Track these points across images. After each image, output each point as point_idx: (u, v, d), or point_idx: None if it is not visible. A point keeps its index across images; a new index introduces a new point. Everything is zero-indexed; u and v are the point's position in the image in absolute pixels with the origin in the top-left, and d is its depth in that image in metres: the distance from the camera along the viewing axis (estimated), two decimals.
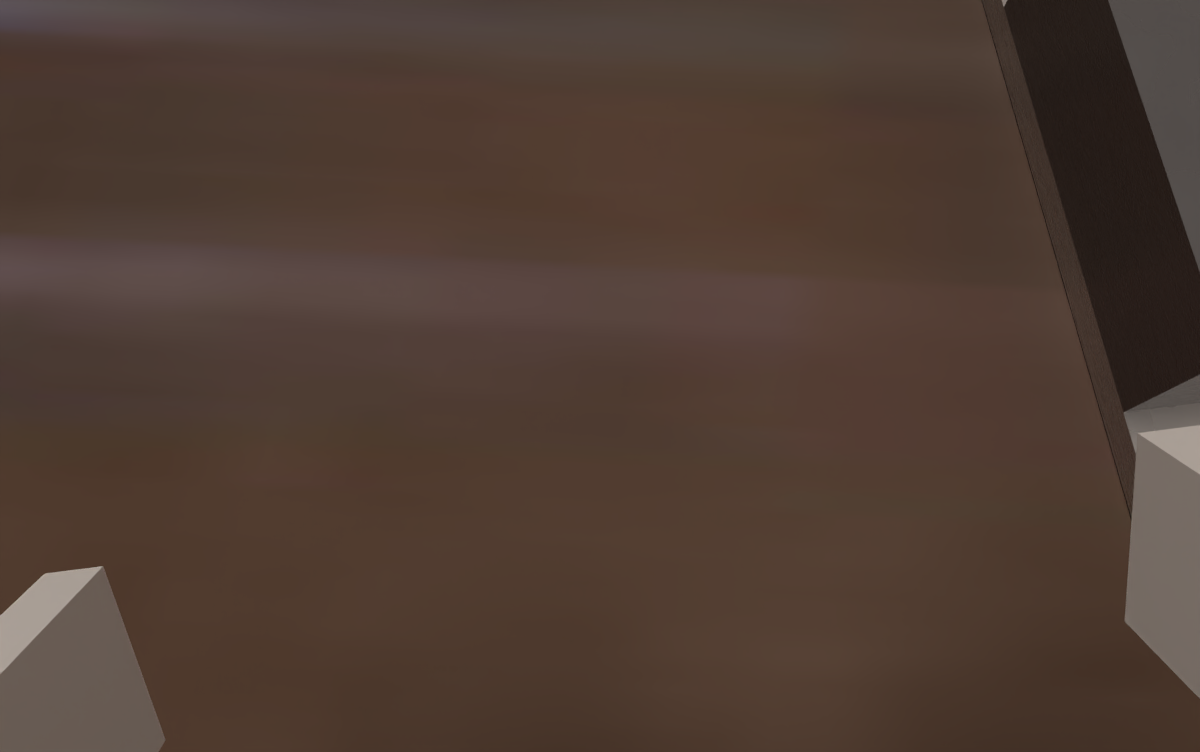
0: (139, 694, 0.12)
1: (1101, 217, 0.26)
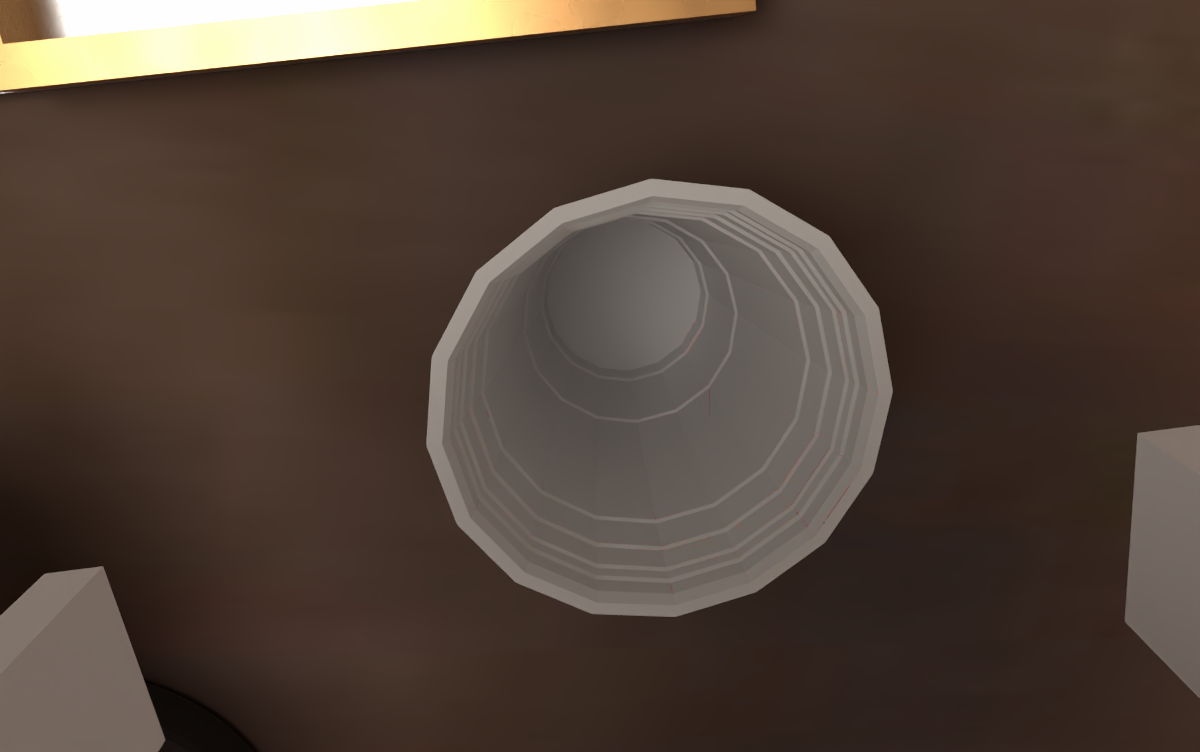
0: (139, 694, 0.12)
1: None
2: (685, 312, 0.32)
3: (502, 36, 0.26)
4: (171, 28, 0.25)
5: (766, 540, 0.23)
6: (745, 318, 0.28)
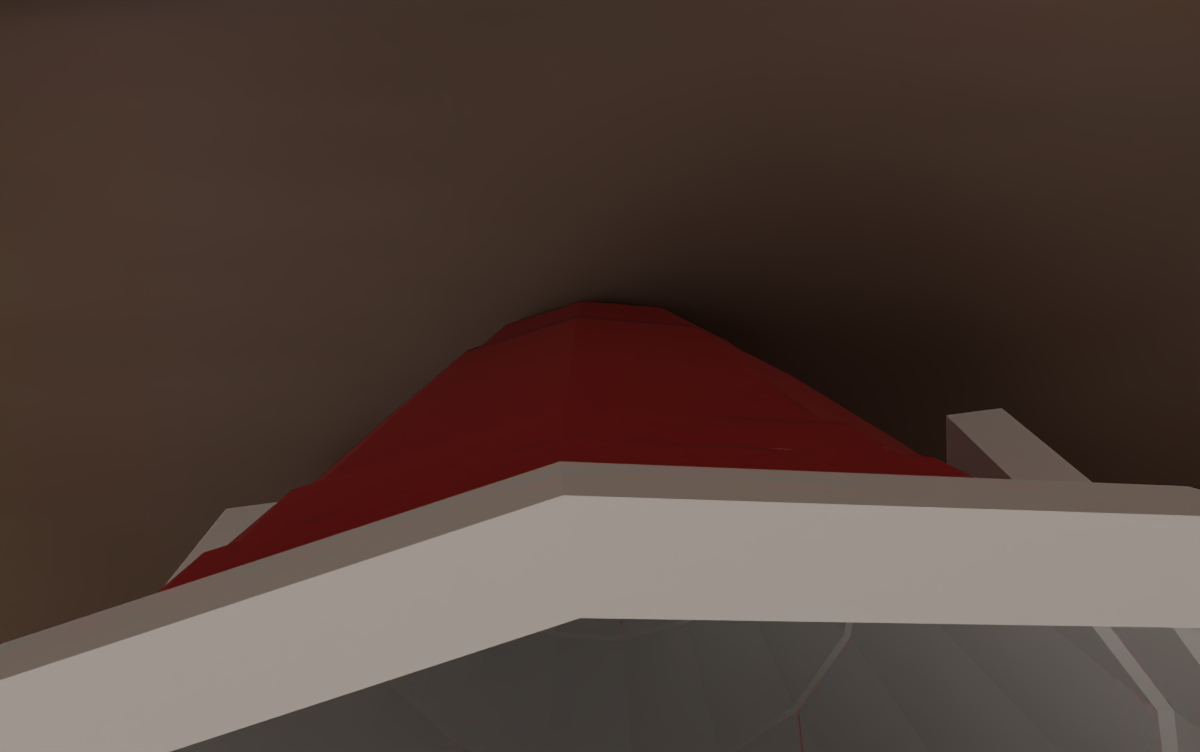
0: None
1: None
2: None
3: None
4: None
5: None
6: None
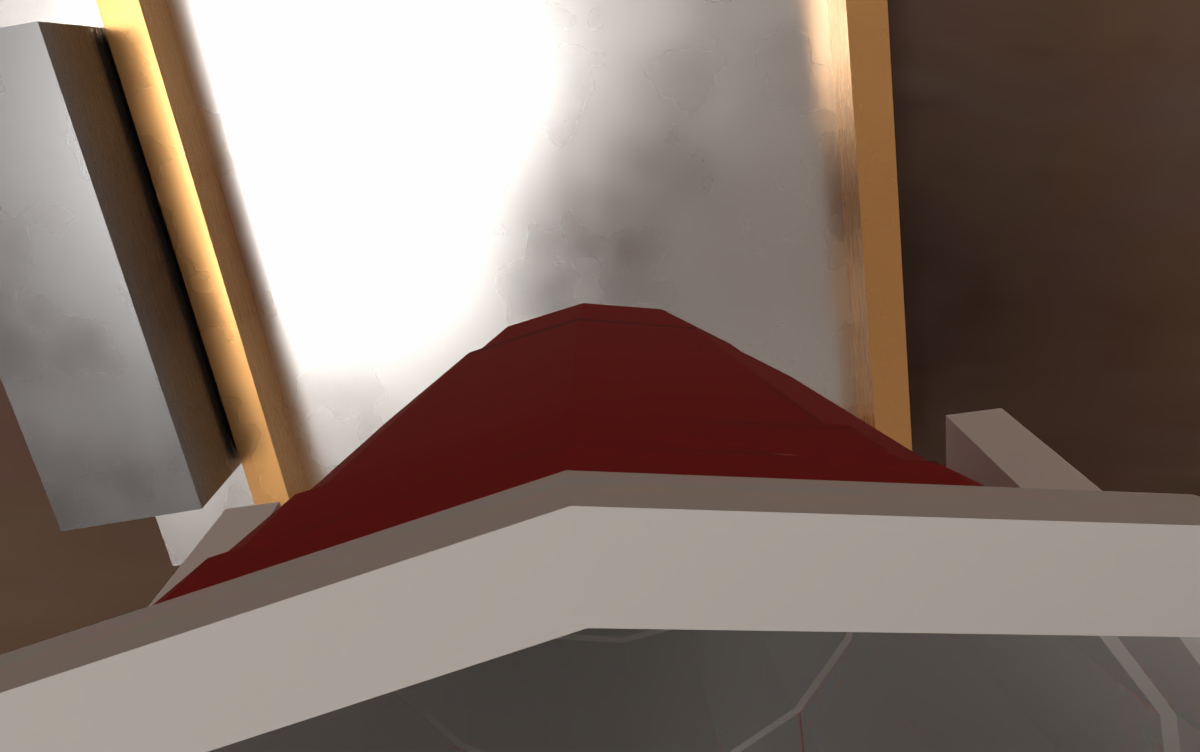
0: None
1: None
2: None
3: None
4: None
5: None
6: None
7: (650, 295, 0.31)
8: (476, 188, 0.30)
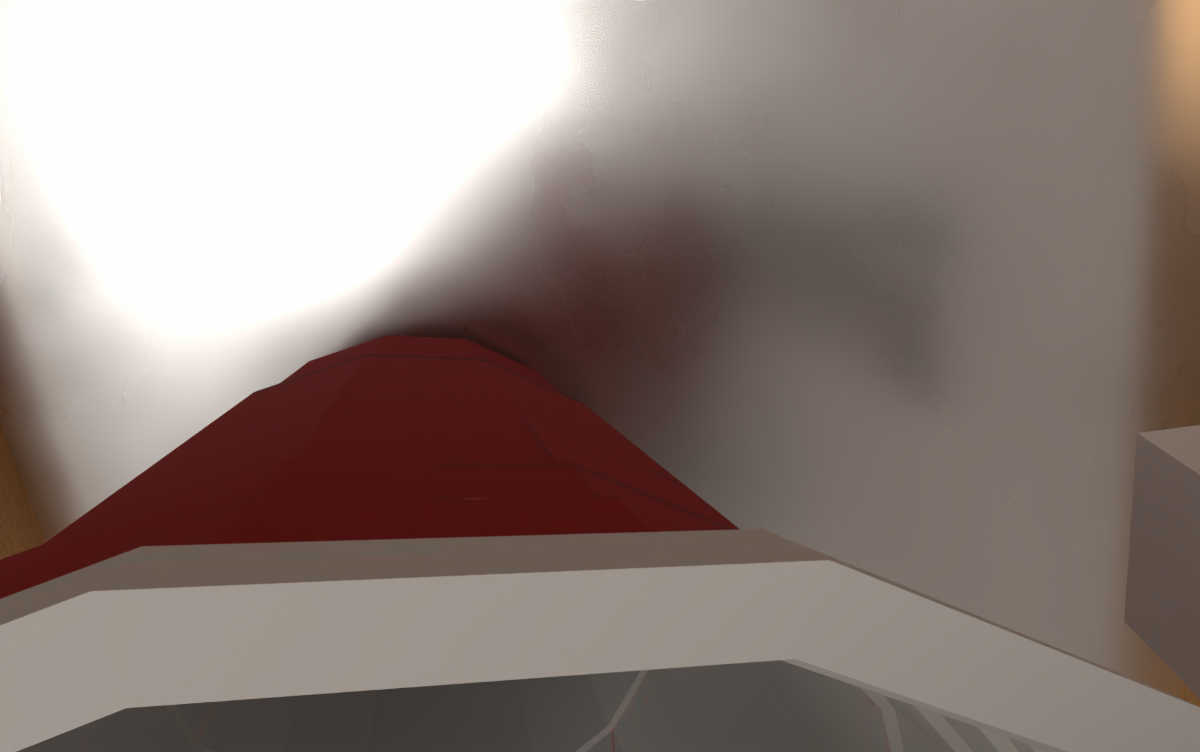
0: None
1: None
2: None
3: None
4: None
5: None
6: None
7: None
8: None
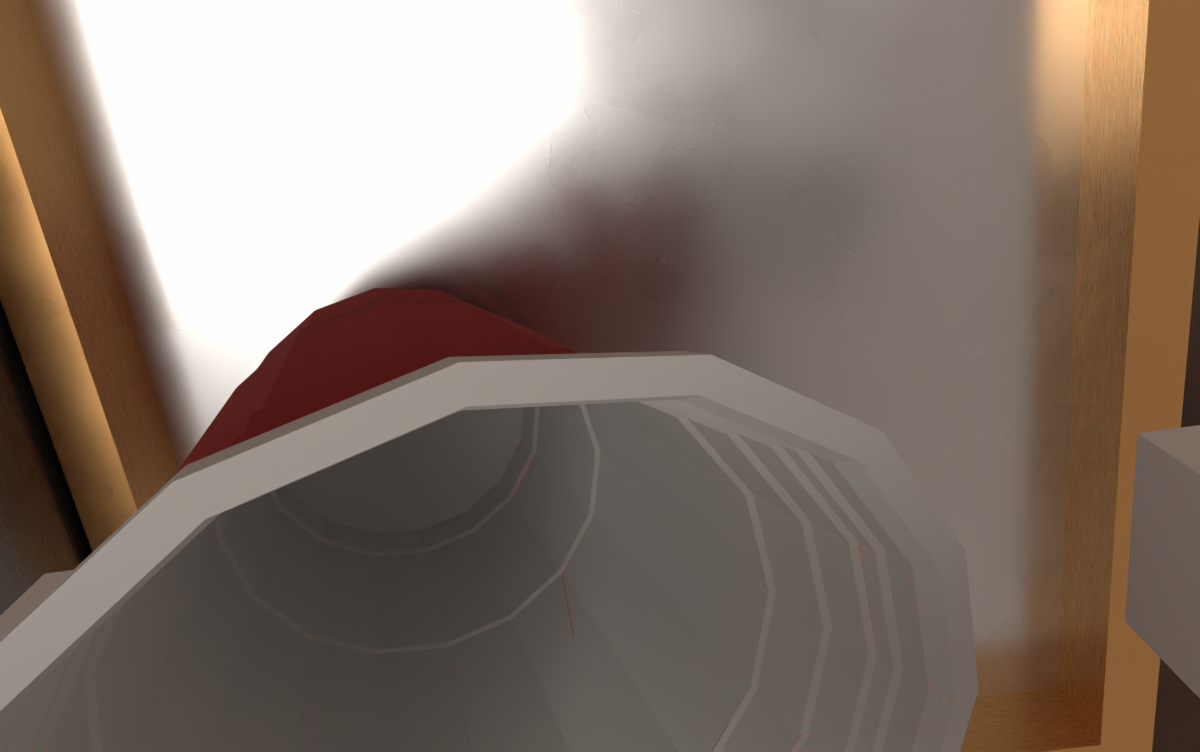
0: None
1: None
2: (503, 430, 0.20)
3: None
4: None
5: None
6: (617, 466, 0.16)
7: None
8: None
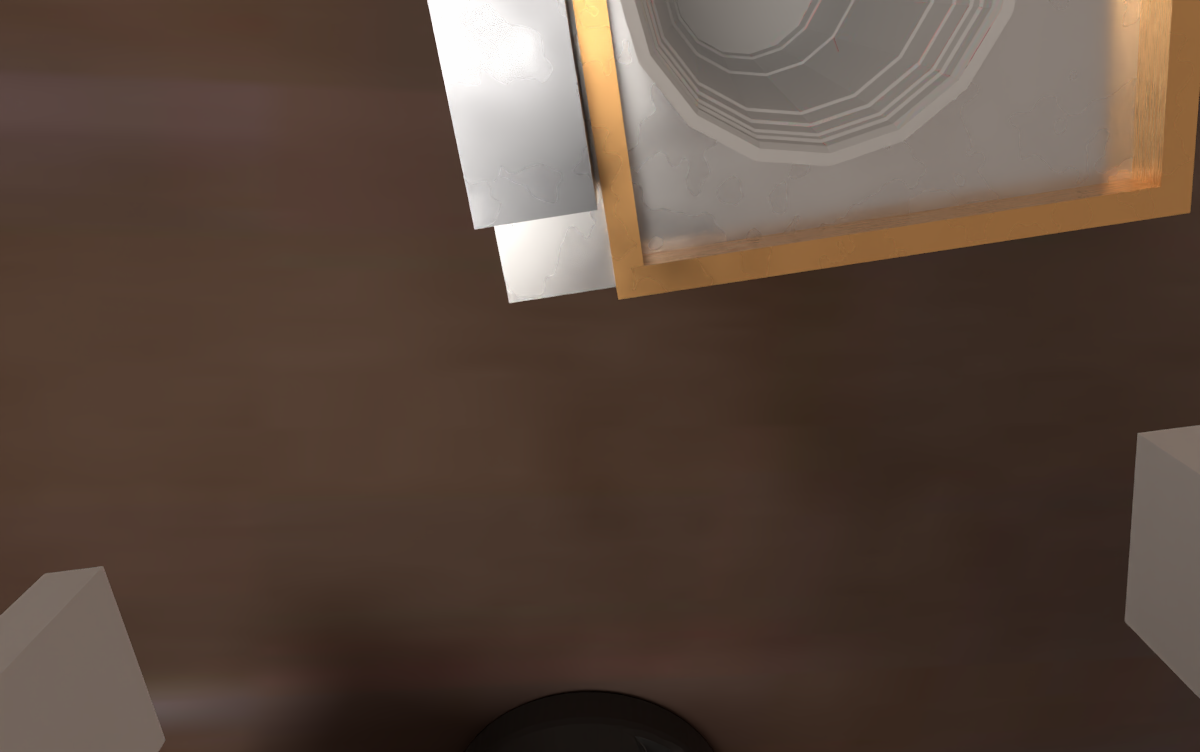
0: (139, 694, 0.12)
1: None
2: None
3: (1000, 240, 0.35)
4: (764, 249, 0.35)
5: (910, 98, 0.25)
6: None
7: None
8: None
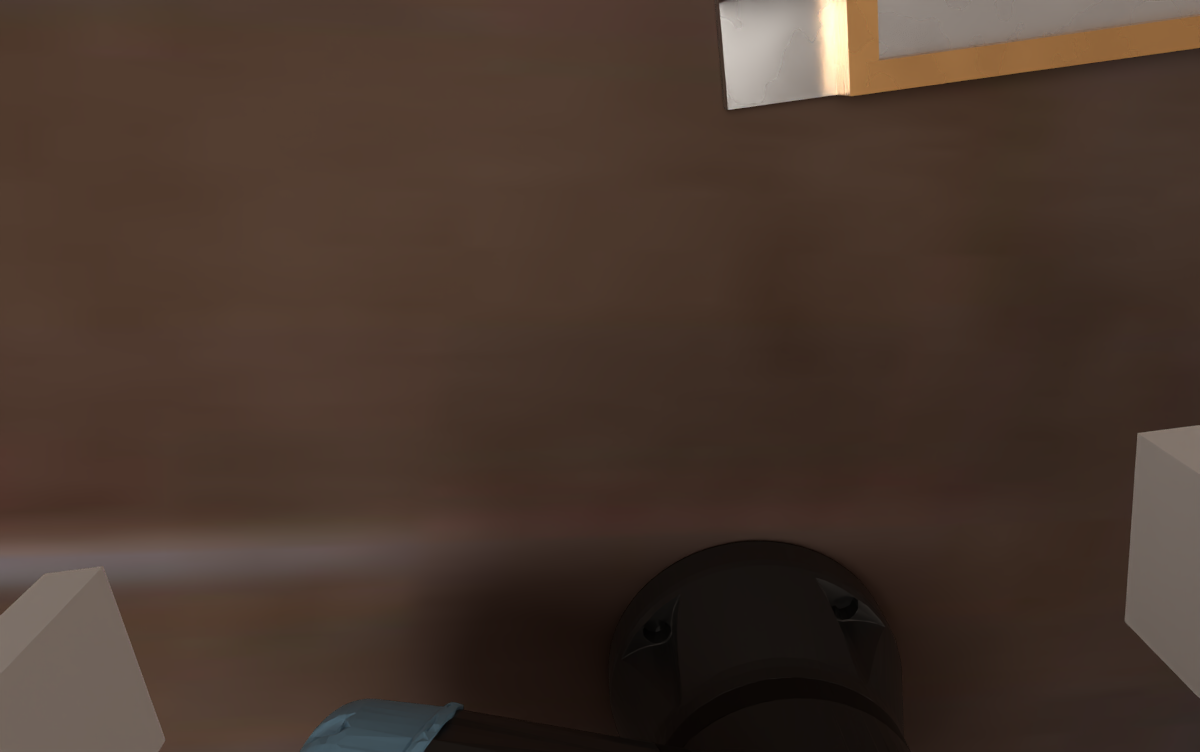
0: (139, 694, 0.12)
1: None
2: None
3: None
4: (999, 45, 0.36)
5: None
6: None
7: None
8: None
